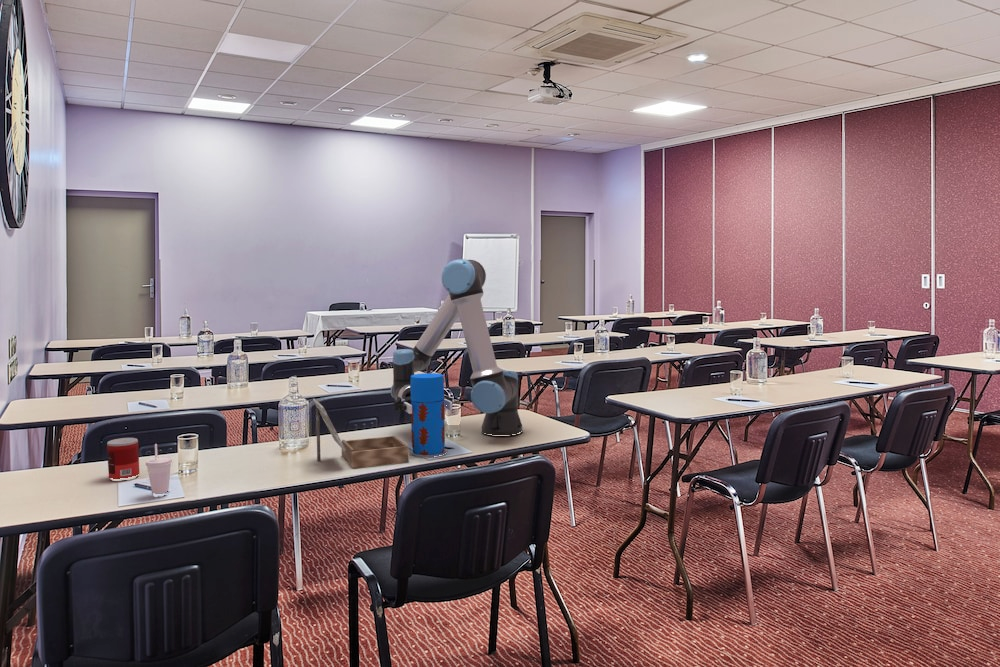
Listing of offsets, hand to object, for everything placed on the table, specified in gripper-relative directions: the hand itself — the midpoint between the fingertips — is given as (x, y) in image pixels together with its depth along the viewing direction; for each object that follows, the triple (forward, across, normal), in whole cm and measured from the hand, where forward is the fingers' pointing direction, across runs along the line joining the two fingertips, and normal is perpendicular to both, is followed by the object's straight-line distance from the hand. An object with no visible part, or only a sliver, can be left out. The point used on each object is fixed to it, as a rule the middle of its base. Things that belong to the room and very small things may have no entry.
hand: (431, 407), depth 227 cm
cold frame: (-3, +22, -16) cm, 27 cm away
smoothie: (+9, +79, -16) cm, 81 cm away
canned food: (-13, +89, -16) cm, 91 cm away
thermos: (-3, 0, -15) cm, 16 cm away
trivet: (-3, 0, -16) cm, 16 cm away
